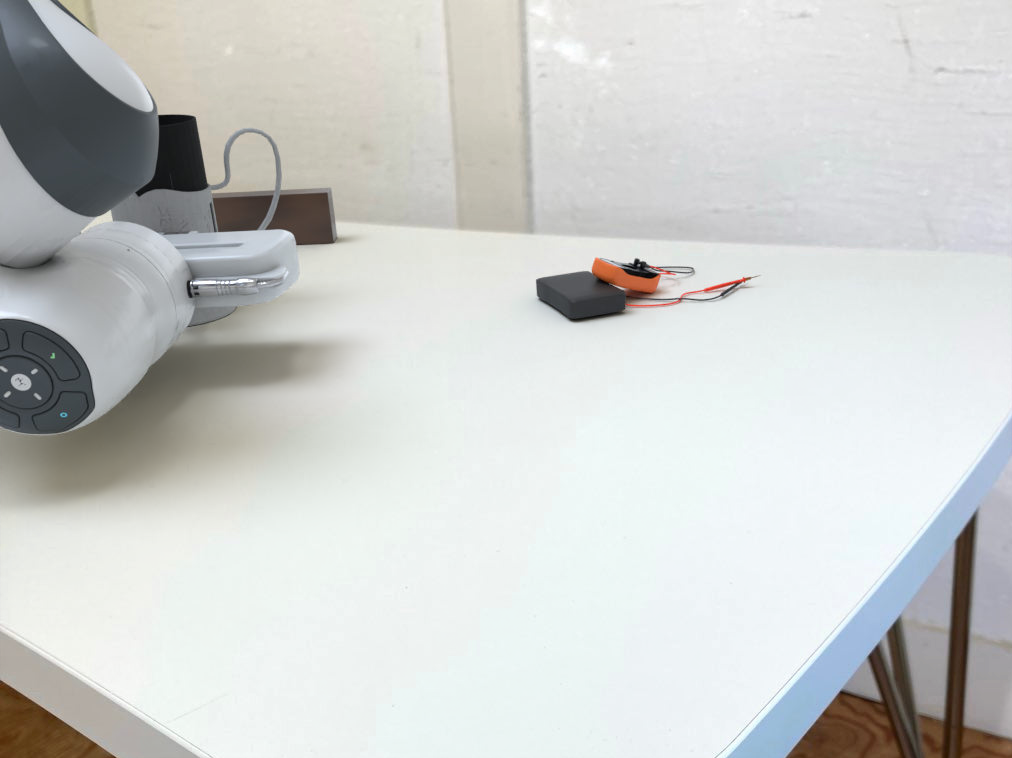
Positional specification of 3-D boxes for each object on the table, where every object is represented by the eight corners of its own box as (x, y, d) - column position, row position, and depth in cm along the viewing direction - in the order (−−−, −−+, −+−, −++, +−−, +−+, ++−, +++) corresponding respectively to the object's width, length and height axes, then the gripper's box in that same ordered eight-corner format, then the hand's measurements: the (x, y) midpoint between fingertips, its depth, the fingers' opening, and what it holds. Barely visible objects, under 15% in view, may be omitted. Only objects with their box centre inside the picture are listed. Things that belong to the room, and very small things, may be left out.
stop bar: (196, 249, 107) (186, 199, 105) (202, 243, 110) (193, 194, 107) (333, 243, 107) (327, 192, 105) (337, 237, 109) (331, 187, 107)
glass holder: (123, 306, 90) (81, 120, 83) (287, 281, 95) (261, 103, 88) (134, 335, 83) (90, 134, 76) (311, 305, 88) (285, 114, 81)
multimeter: (710, 258, 95) (712, 219, 94) (777, 293, 85) (780, 250, 83) (518, 283, 91) (517, 243, 89) (564, 323, 81) (563, 279, 79)
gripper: (271, 238, 68) (310, 193, 80) (-44, 253, 68) (42, 206, 81) (286, 333, 71) (321, 276, 83) (-16, 346, 71) (63, 288, 84)
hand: (181, 242), depth 82 cm, fingers closed
